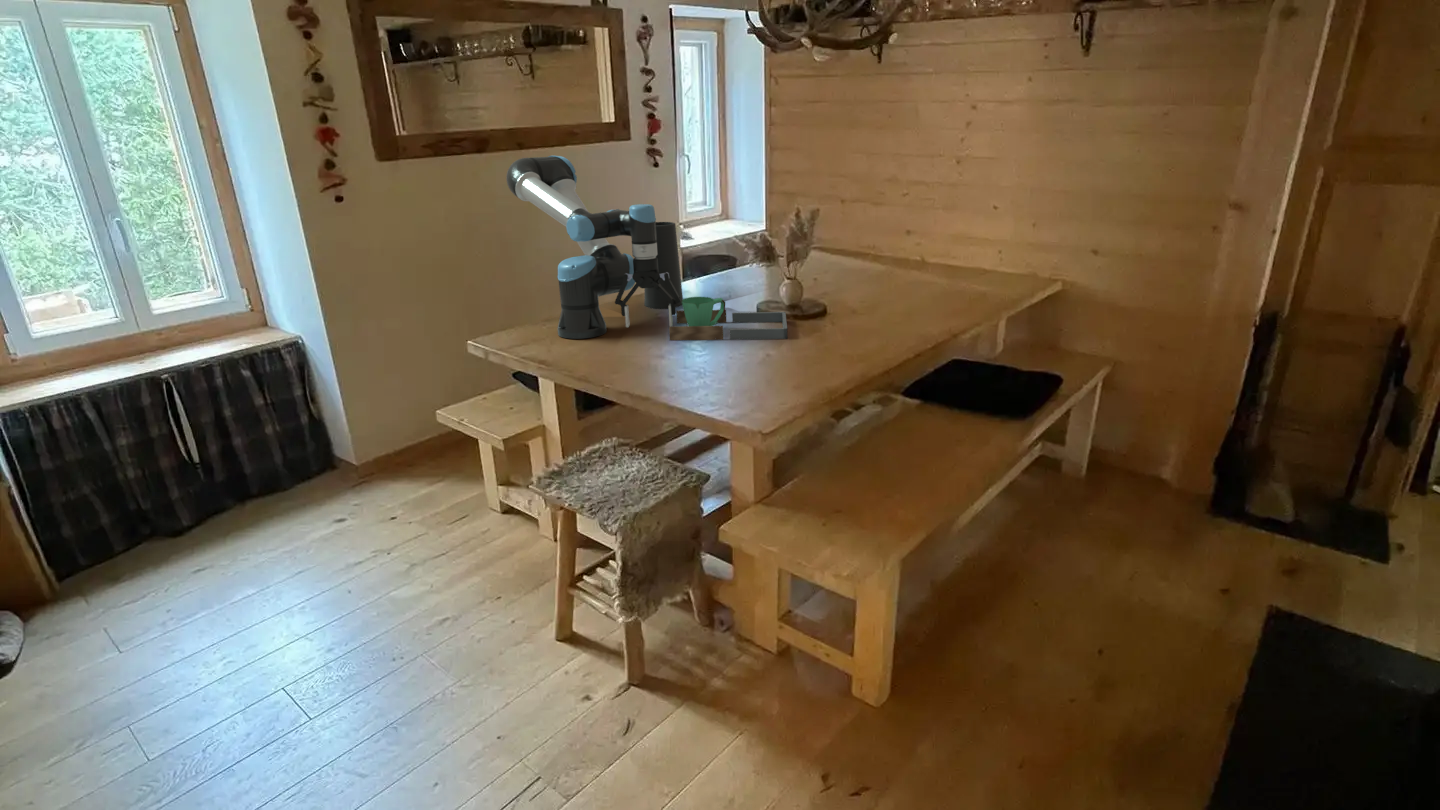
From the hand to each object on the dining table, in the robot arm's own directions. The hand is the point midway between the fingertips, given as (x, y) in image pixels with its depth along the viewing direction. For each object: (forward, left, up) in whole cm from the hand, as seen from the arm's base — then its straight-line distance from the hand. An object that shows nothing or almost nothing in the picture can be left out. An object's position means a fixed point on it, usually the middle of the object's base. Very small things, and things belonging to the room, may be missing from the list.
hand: (649, 325), depth 247 cm
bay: (+15, 0, -2) cm, 16 cm away
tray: (+34, 0, -2) cm, 34 cm away
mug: (+17, 0, -2) cm, 18 cm away
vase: (0, +34, -2) cm, 34 cm away
